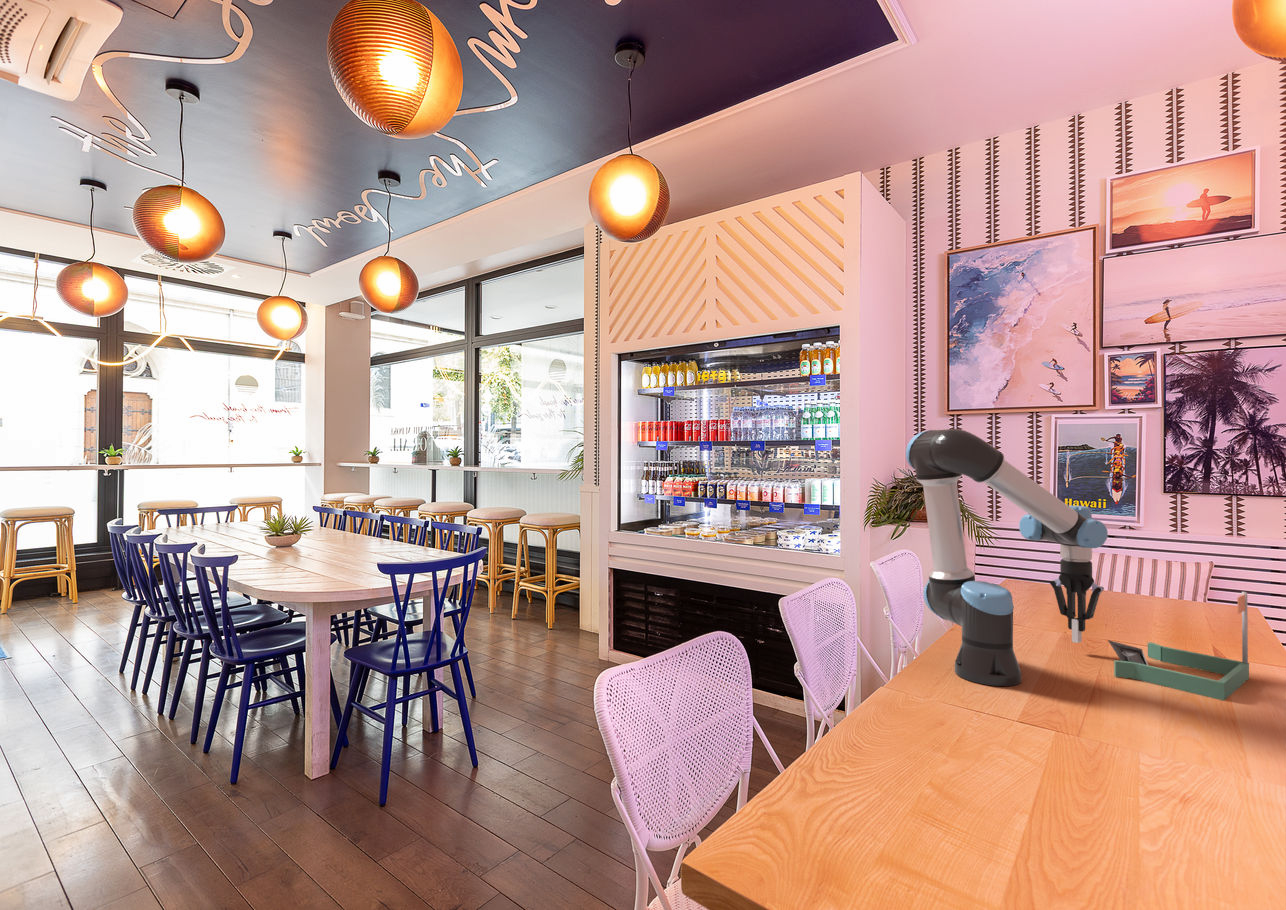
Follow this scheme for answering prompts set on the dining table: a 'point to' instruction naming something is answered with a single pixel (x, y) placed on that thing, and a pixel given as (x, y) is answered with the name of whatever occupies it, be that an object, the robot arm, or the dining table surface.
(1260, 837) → the dining table surface
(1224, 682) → the green u-shaped frame
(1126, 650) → the paper boat
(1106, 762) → the dining table surface
